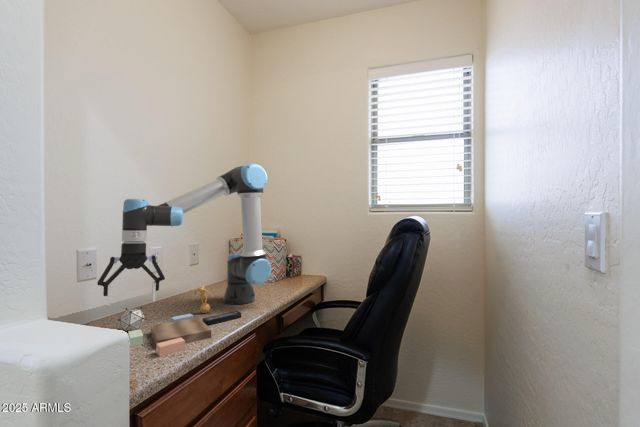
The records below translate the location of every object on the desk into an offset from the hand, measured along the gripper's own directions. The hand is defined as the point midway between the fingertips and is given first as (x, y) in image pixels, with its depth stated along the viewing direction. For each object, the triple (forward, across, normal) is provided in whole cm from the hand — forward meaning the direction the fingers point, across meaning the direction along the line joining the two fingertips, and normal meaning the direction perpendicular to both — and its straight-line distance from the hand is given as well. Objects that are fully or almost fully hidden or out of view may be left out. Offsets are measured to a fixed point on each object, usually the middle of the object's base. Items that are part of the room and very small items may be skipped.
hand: (131, 302), depth 108 cm
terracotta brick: (+10, +8, -26) cm, 29 cm away
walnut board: (+10, +14, -14) cm, 22 cm away
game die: (+10, 0, 0) cm, 10 cm away
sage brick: (+10, 0, -12) cm, 16 cm away
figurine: (+10, +26, +6) cm, 29 cm away
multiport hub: (+10, +30, -6) cm, 33 cm away
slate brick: (+10, +16, -2) cm, 19 cm away
